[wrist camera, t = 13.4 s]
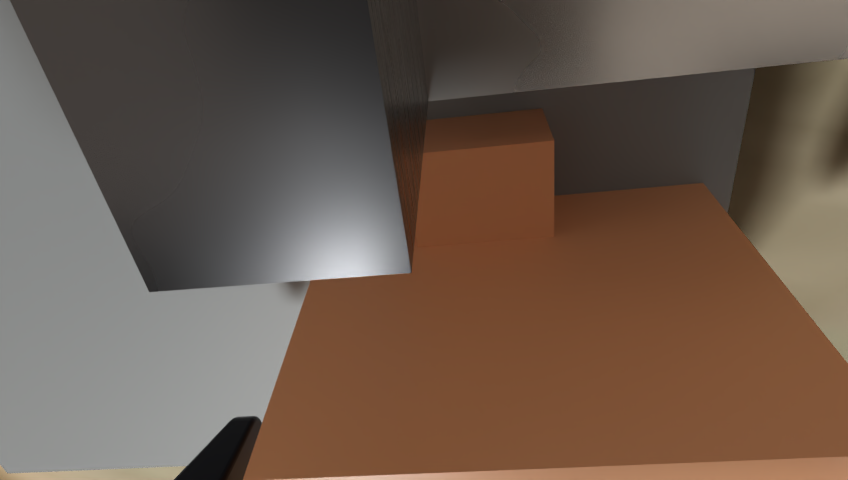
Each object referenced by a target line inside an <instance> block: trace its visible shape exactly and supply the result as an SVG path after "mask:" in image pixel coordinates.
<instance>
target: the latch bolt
mask: <svg viewBox="0 0 848 480" xmlns="http://www.w3.org/2000/svg"><path fill="white" fill-rule="evenodd" d="M10 2H11V4H12V6H13V8H14V10H15V12H16V14H17V17H18V19H19V21H20V23H21V25H22V27H23V29H24V31H25V33H26V35H27V37H28V40H29V42H30V44H31V46H32V48H33V50H34V52H35V54H36V56H37V58H38V60H39V63H40V65H41V67H42V69H43V71H44V73H45V75H46V77H47V79H48V81H49V83H50V86H51V88H52V90H53V92H54V94H55V96H56V98H57V100H58V102H59V104H60V106H61V109H62V111H63V113H64V115H65V117H66V119H67V121H68V123H69V125H70V127H71V129H72V132H73V134H74V136H75V138H76V140H77V142H78V144H79V146H80V148H81V150H82V152H83V155H84V157H85V159H86V161H87V163H88V165H89V167H90V169H91V171H92V173H93V175H94V178H95V180H96V182H97V184H98V186H99V188H100V190H101V192H102V194H103V196H104V198H105V201H106V203H107V205H108V207H109V209H110V211H111V213H112V215H113V217H114V219H115V222H116V224H117V226H118V228H119V230H120V232H121V234H122V236H123V238H124V240H125V242H126V245H127V247H128V249H129V251H130V253H131V255H132V257H133V259H134V261H135V263H136V265H137V268H138V270H139V272H140V274H141V276H142V278H143V280H144V282H145V284H146V286H147V288H148V291H149V292H158V291H172V290H186V289H199V288H213V287H227V286H240V285H254V284H268V283H281V282H295V281H309V280H322V279H336V278H350V277H363V276H377V275H391V274H405V273H412V263H413V252H414V242H415V232H416V222H417V211H418V201H419V191H420V181H421V170H422V160H423V150H424V140H425V130H426V119H427V109H428V101H436V100H446V99H456V98H466V97H476V96H485V95H495V94H505V93H515V92H524V91H534V90H544V89H554V88H563V87H573V86H583V85H593V84H603V83H612V82H622V81H632V80H642V79H651V78H661V77H671V76H681V75H690V74H700V73H710V72H720V71H730V70H739V69H749V68H759V67H769V66H778V65H788V64H798V63H808V62H817V61H827V60H837V59H847V58H848V0H10Z"/></svg>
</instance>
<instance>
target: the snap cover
mask: <svg viewBox="0 0 848 480" xmlns="http://www.w3.org/2000/svg"><path fill="white" fill-rule="evenodd" d="M243 480H848V363H847V362H846V361H845V360H844V358H843V357H842V356H841V355H840V353H839V352H838V351H837V350H836V348H835V347H834V346H833V345H832V343H831V342H830V341H829V340H828V338H827V337H826V336H825V335H824V333H823V332H822V331H821V330H820V328H819V327H818V326H817V325H816V323H815V322H814V321H813V320H812V318H811V317H810V316H809V315H808V313H807V312H806V311H805V310H804V308H803V307H802V306H801V305H800V303H799V302H798V301H797V300H796V298H795V297H794V296H793V295H792V293H791V292H790V291H789V290H788V288H787V287H786V286H785V285H784V283H783V282H782V281H781V280H780V278H779V277H778V276H777V275H776V273H775V272H774V271H773V270H772V268H771V267H770V266H769V265H768V263H767V262H766V261H765V260H764V258H763V257H762V256H761V255H760V253H759V252H758V251H757V250H756V248H755V247H754V246H753V245H752V243H751V242H750V241H749V240H748V238H747V237H746V236H745V235H744V233H743V232H742V231H741V230H740V228H739V227H738V226H737V225H736V223H735V222H734V221H733V220H732V218H731V217H730V216H729V215H728V213H727V212H726V211H725V210H724V208H723V207H722V206H721V205H720V203H719V202H718V201H717V200H716V198H715V197H714V196H713V195H712V193H711V192H710V191H709V190H708V188H707V187H706V186H705V185H704V183H696V184H684V185H673V186H661V187H650V188H638V189H627V190H615V191H604V192H592V193H580V194H569V195H557V196H554V138H553V136H552V133H551V130H550V128H549V125H548V122H547V120H546V117H545V115H544V112H543V109H542V108H540V109H530V110H520V111H511V112H501V113H491V114H481V115H471V116H462V117H452V118H442V119H432V120H426V130H425V140H424V150H423V160H422V170H421V181H420V191H419V201H418V211H417V222H416V232H415V242H414V252H413V263H412V273H405V274H391V275H377V276H363V277H350V278H336V279H322V280H311V281H310V284H309V287H308V290H307V293H306V296H305V298H304V301H303V304H302V307H301V310H300V313H299V316H298V319H297V322H296V325H295V328H294V331H293V334H292V337H291V340H290V343H289V345H288V348H287V351H286V354H285V357H284V360H283V363H282V366H281V369H280V372H279V375H278V378H277V381H276V384H275V387H274V390H273V392H272V395H271V398H270V401H269V404H268V407H267V410H266V413H265V416H264V419H263V422H262V425H261V428H260V431H259V434H258V437H257V439H256V442H255V445H254V448H253V451H252V454H251V457H250V460H249V463H248V466H247V469H246V472H245V475H244V478H243Z"/></svg>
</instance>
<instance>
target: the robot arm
mask: <svg viewBox="0 0 848 480" xmlns="http://www.w3.org/2000/svg"><path fill="white" fill-rule="evenodd" d="M261 425H262V422H261V420H260V419H259V418H258V417H257V416H241V417H235V418H233V419H232V420H230V421H229V422H228V423H227V424H226V425H225V426H224V428H223V429H222V430H221V431H220V432H219V433H218V434H217V435H216V436H215V437H214V438H213V439H212V440H211V441H210V442H209V443H208V444H207V445H206V447H205V448H204V449H203V450H202V451H201V452H200V453H199V454H198V455H197V456H196V457H195V458H194V459H193V460H192V461H191V462H190V463H189V464H188V465H187V467H186V468H185V469H184V470H183V471H182V472H181V473H180V474H179V475H178V476H177V477H176V478H175V479H174V480H243V478H244V475H245V472H246V469H247V466H248V463H249V460H250V457H251V454H252V451H253V448H254V445H255V442H256V439H257V437H258V434H259V431H260V428H261Z"/></svg>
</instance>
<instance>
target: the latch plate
mask: <svg viewBox="0 0 848 480" xmlns="http://www.w3.org/2000/svg"><path fill="white" fill-rule="evenodd" d="M755 69H756V68H749V69H739V70H730V71H720V72H710V73H700V74H690V75H681V76H671V77H661V78H651V79H642V80H632V81H622V82H612V83H603V84H593V85H583V86H573V87H563V88H554V89H544V90H534V91H524V92H515V93H505V94H495V95H485V96H476V97H466V98H456V99H446V100H436V101H428V109H427V119H426V120H432V119H442V118H452V117H462V116H471V115H481V114H491V113H501V112H511V111H520V110H530V109H540V108H542V109H543V112H544V115H545V117H546V120H547V122H548V125H549V128H550V130H551V133H552V136H553V138H554V196H557V195H569V194H580V193H592V192H604V191H615V190H627V189H638V188H650V187H661V186H673V185H684V184H696V183H704V185H705V186H706V187H707V188H708V190H709V191H710V192H711V193H712V195H713V196H714V197H715V198H716V200H717V201H718V202H719V203H720V205H721V206H722V207H723V208H724V210H725V211H726V212H727V213H728V209H729V204H730V199H731V194H732V188H733V183H734V178H735V173H736V168H737V162H738V157H739V152H740V147H741V142H742V137H743V131H744V126H745V121H746V116H747V111H748V106H749V100H750V95H751V90H752V85H753V80H754V74H755ZM310 281H311V280H309V281H295V282H281V283H268V284H254V285H240V286H227V287H213V288H199V289H186V290H172V291H158V292H149V291H148V288H147V286H146V284H145V282H144V280H143V278H142V276H141V274H140V272H139V270H138V268H137V265H136V263H135V261H134V259H133V257H132V255H131V253H130V251H129V249H128V247H127V245H126V242H125V240H124V238H123V236H122V234H121V232H120V230H119V228H118V226H117V224H116V222H115V219H114V217H113V215H112V213H111V211H110V209H109V207H108V205H107V203H106V201H105V198H104V196H103V194H102V192H101V190H100V188H99V186H98V184H97V182H96V180H95V178H94V175H93V173H92V171H91V169H90V167H89V165H88V163H87V161H86V159H85V157H84V155H83V152H82V150H81V148H80V146H79V144H78V142H77V140H76V138H75V136H74V134H73V132H72V129H71V127H70V125H69V123H68V121H67V119H66V117H65V115H64V113H63V111H62V109H61V106H60V104H59V102H58V100H57V98H56V96H55V94H54V92H53V90H52V88H51V86H50V83H49V81H48V79H47V77H46V75H45V73H44V71H43V69H42V67H41V65H40V63H39V60H38V58H37V56H36V54H35V52H34V50H33V48H32V46H31V44H30V42H29V40H28V37H27V35H26V33H25V31H24V29H23V27H22V25H21V23H20V21H19V19H18V17H17V14H16V12H15V10H14V8H13V6H12V4H11V2H10V0H0V465H1V466H2V467H3V468H4V470H5V471H6V472H7V473H28V472H52V471H76V470H100V469H124V468H148V467H172V466H187V465H188V464H189V463H190V462H191V461H192V460H193V459H194V458H195V457H196V456H197V455H198V454H199V453H200V452H201V451H202V450H203V449H204V448H205V447H206V445H207V444H208V443H209V442H210V441H211V440H212V439H213V438H214V437H215V436H216V435H217V434H218V433H219V432H220V431H221V430H222V429H223V428H224V426H225V425H226V424H227V423H228V422H229V421H230V420H232V419H233V418H235V417H241V416H257V417H258V418H259V419H260V420H261V422H263V419H264V416H265V413H266V410H267V407H268V404H269V401H270V398H271V395H272V392H273V390H274V387H275V384H276V381H277V378H278V375H279V372H280V369H281V366H282V363H283V360H284V357H285V354H286V351H287V348H288V345H289V343H290V340H291V337H292V334H293V331H294V328H295V325H296V322H297V319H298V316H299V313H300V310H301V307H302V304H303V301H304V298H305V296H306V293H307V290H308V287H309V284H310Z"/></svg>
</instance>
